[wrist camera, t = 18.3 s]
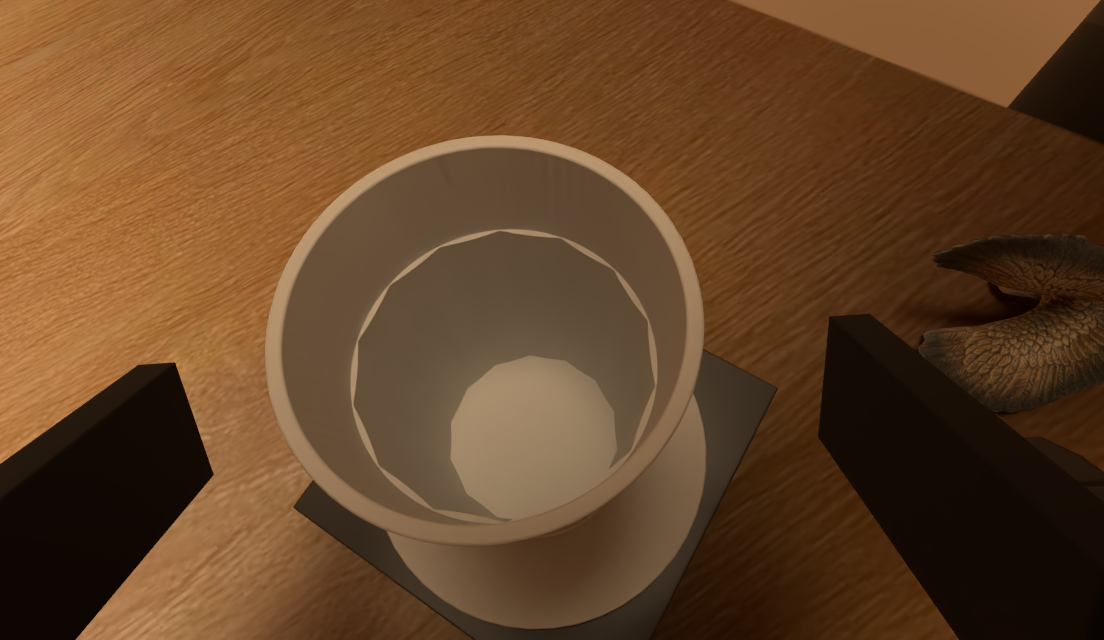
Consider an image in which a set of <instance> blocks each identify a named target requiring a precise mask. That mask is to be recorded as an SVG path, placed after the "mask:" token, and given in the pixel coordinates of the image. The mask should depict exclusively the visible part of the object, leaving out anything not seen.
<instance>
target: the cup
mask: <svg viewBox="0 0 1104 640" xmlns="http://www.w3.org/2000/svg"><path fill="white" fill-rule="evenodd" d="M703 345H704V309H703V301H702V295H701V290H700V285H699V281H698V277H697V273H696V270H695V267H694V264H693V262H692V259H691V257H690V254H689V252H688V250H687V248H686V245H685V243H684V241H683V239H682V238H681V236H680V234H679V233H678V231H677V229H676V227H675V226H674V224H673V223H672V222H671V220H670V219H669V217H668V216H667V215H666V213H665V212H664V211H663V210H662V208H661V207H660V206H659V205H658V204H657V203H656V201H655V200H654V199H653V198H652V197H651V196H650V195H649V194H648V193H647V192H646V191H645V190H644V189H642V188H641V187H640V186H639V185H638V184H637V183H635V182H634V181H633V180H632V179H631V178H629V177H628V176H626V175H625V174H624V173H622V172H621V171H619V170H618V169H616V168H614V167H613V166H611V165H610V164H608V163H606V162H604V161H602V160H600V159H598V158H597V157H594V156H592V155H590V154H588V153H585V152H583V151H580V150H578V149H575V148H572V147H569V146H566V145H563V144H559V143H556V142H551V141H547V140H542V139H536V138H530V137H521V136H501V135H494V136H478V137H468V138H461V139H456V140H451V141H446V142H442V143H438V144H434V145H431V146H428V147H425V148H422V149H419V150H416V151H413V152H411V153H408V154H406V155H403V156H401V157H399V158H397V159H395V160H393V161H391V162H389V163H387V164H385V165H383V166H381V167H379V168H378V169H376V170H374V171H373V172H371V173H369V174H368V175H366V176H365V177H363V178H362V179H361V180H359V181H358V182H356V183H355V184H354V185H352V186H351V187H350V188H348V189H347V190H346V191H345V192H344V193H342V194H341V195H340V196H339V197H338V198H337V199H336V200H335V201H333V202H332V203H331V204H330V205H329V206H328V207H327V208H326V209H325V211H324V212H323V213H322V214H321V215H320V216H319V217H318V218H317V219H316V221H315V222H314V223H313V224H312V225H311V227H310V228H309V229H308V231H307V232H306V233H305V235H304V236H303V238H302V239H301V241H300V242H299V244H298V245H297V247H296V248H295V250H294V252H293V253H292V255H291V257H290V259H289V261H288V263H287V265H286V267H285V269H284V271H283V273H282V275H281V278H280V280H279V283H278V285H277V288H276V291H275V294H274V297H273V301H272V304H271V308H270V313H269V317H268V323H267V330H266V339H265V369H266V380H267V386H268V392H269V396H270V400H271V404H272V408H273V411H274V414H275V417H276V420H277V422H278V425H279V427H280V429H281V432H282V434H283V436H284V438H285V440H286V442H287V444H288V446H289V447H290V449H291V451H292V452H293V454H294V455H295V457H296V459H297V460H298V462H299V463H300V464H301V466H302V467H303V468H304V470H305V471H306V472H307V473H308V474H309V476H310V477H311V478H312V479H313V480H314V481H315V482H316V484H317V485H318V486H320V487H321V488H322V489H323V490H324V491H325V492H326V493H327V494H328V495H329V496H330V497H331V498H333V499H334V500H335V501H336V502H338V503H339V504H340V505H341V506H343V507H344V508H346V509H347V510H349V511H350V512H352V513H353V514H355V515H356V516H358V517H360V518H362V519H363V520H365V521H367V522H369V523H371V524H373V525H375V526H377V527H379V528H382V529H384V530H386V531H389V532H392V533H394V534H397V535H400V536H403V537H407V538H410V539H414V540H418V541H422V542H427V543H433V544H440V545H449V546H491V545H500V544H507V543H513V542H518V541H523V540H527V539H531V538H545V537H552V536H556V535H560V534H563V533H566V532H569V531H571V530H573V529H575V528H577V527H579V526H581V525H583V524H584V523H586V522H587V521H588V520H590V519H591V518H592V517H594V516H595V515H596V514H597V513H598V512H599V511H600V510H601V509H602V508H603V507H604V505H606V504H607V503H609V502H610V501H611V500H613V499H614V498H615V497H617V496H618V495H619V494H621V493H622V492H623V491H624V490H626V489H627V488H628V487H629V486H630V485H631V484H632V483H633V482H635V481H636V480H637V479H638V478H639V477H640V476H641V475H642V474H643V473H644V472H645V471H646V470H647V468H648V467H649V466H650V465H651V464H652V463H653V462H654V460H655V459H656V458H657V457H658V455H659V454H660V453H661V452H662V450H663V449H664V447H665V446H666V445H667V443H668V442H669V440H670V439H671V437H672V436H673V434H674V432H675V431H676V429H677V427H678V425H679V423H680V422H681V420H682V418H683V416H684V414H685V412H686V409H687V407H688V405H689V402H690V400H691V397H692V394H693V392H694V389H695V385H696V382H697V378H698V374H699V370H700V366H701V360H702V353H703Z"/></svg>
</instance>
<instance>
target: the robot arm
mask: <svg viewBox="0 0 1104 640" xmlns="http://www.w3.org/2000/svg"><path fill="white" fill-rule="evenodd" d="M818 438H819V439H820V440H821V442H822V443H823V445H824V446H825V448H826V449H827V450H828V452H829V453H830V455H831V456H832V458H833V459H834V460H835V462H836V463H837V465H838V466H839V468H840V469H841V471H842V472H843V473H844V475H845V476H846V478H847V479H848V481H849V482H850V483H851V485H852V486H853V488H854V489H855V491H856V492H857V493H858V495H859V496H860V498H861V499H862V501H863V502H864V504H865V505H866V506H867V508H868V509H869V511H870V512H871V514H872V515H873V516H874V518H875V519H876V521H877V522H878V524H879V525H880V526H881V528H882V529H883V531H884V532H885V534H886V535H887V537H888V538H889V539H890V541H891V542H892V544H893V545H894V547H895V548H896V549H897V551H898V552H899V554H900V555H901V557H902V558H903V559H904V561H905V562H906V564H907V565H908V567H909V568H910V570H911V571H912V572H913V574H914V575H915V577H916V578H917V580H918V581H919V582H920V584H921V585H922V587H923V588H924V590H925V591H926V593H927V594H928V595H929V597H930V598H931V600H932V601H933V603H934V604H935V605H936V607H937V608H938V610H939V611H940V613H941V614H942V615H943V617H944V618H945V620H946V621H947V623H948V624H949V626H950V627H951V628H952V630H953V631H954V633H955V634H956V636H957V637H958V638H959V640H1104V472H1103V471H1101V470H1100V469H1099V468H1097V467H1096V466H1095V465H1093V464H1092V463H1091V462H1089V461H1088V460H1087V459H1085V458H1084V457H1083V456H1081V455H1079V454H1076V453H1074V452H1072V451H1070V450H1068V449H1066V448H1064V447H1062V446H1059V445H1057V444H1055V443H1053V442H1051V441H1049V440H1047V439H1044V438H1042V437H1027V438H1023V437H1022V436H1021V435H1020V434H1019V433H1017V432H1016V431H1015V430H1014V429H1012V428H1011V427H1010V426H1009V425H1007V424H1006V423H1005V422H1004V421H1002V420H1001V419H1000V418H999V417H997V416H996V415H995V414H994V413H992V412H991V411H990V410H989V409H987V408H986V407H985V406H984V405H982V404H981V403H980V402H979V401H977V400H976V399H975V398H974V397H972V396H971V395H970V394H969V393H967V392H966V391H965V390H964V389H962V388H961V387H960V386H959V385H957V384H956V383H955V382H954V381H952V380H951V379H950V378H949V377H948V376H946V375H945V374H944V373H943V372H941V371H940V370H939V369H938V368H936V367H935V366H934V365H933V364H931V363H930V362H929V361H928V360H926V359H925V358H924V357H923V356H921V355H920V354H919V353H918V352H916V351H915V350H914V349H913V348H911V347H910V346H909V345H908V344H906V343H905V342H904V341H903V340H901V339H900V338H899V337H898V336H896V335H895V334H894V333H893V332H891V331H890V330H889V329H888V328H886V327H885V326H884V325H883V324H881V323H880V322H879V321H878V320H877V319H875V318H874V317H873V316H872V315H870V314H859V315H845V316H831V317H829V327H828V338H827V348H826V359H825V369H824V380H823V390H822V401H821V411H820V422H819V432H818ZM213 475H214V474H213V471H212V469H211V466H210V463H209V460H208V457H207V454H206V451H205V448H204V445H203V442H202V440H201V437H200V434H199V431H198V428H197V425H196V422H195V419H194V416H193V413H192V411H191V408H190V405H189V402H188V399H187V396H186V393H185V390H184V387H183V384H182V382H181V379H180V376H179V373H178V370H177V367H176V364H175V363H161V364H146V365H138V366H136V367H135V368H134V369H132V370H131V371H129V372H128V373H127V374H125V375H124V376H122V377H121V378H120V379H118V380H117V381H115V382H114V383H113V384H111V385H110V386H108V387H107V388H106V389H104V390H103V391H101V392H100V393H99V394H97V395H96V396H95V397H93V398H92V399H90V400H89V401H88V402H86V403H85V404H83V405H82V406H81V407H79V408H78V409H76V410H75V411H74V412H72V413H71V414H69V415H68V416H67V417H65V418H64V419H62V420H61V421H60V422H58V423H57V424H55V425H54V426H53V427H51V428H50V429H49V430H47V431H46V432H44V433H43V434H42V435H40V436H39V437H37V438H36V439H35V440H33V441H32V442H30V443H29V444H28V445H26V446H25V447H23V448H22V449H21V450H19V451H18V452H16V453H15V454H14V455H12V456H11V457H9V458H8V459H7V460H5V461H4V462H3V463H1V464H0V640H76V638H77V637H78V636H79V635H80V634H81V632H82V631H83V630H84V629H85V628H86V626H87V625H88V624H89V623H90V622H91V621H92V619H93V618H94V617H95V616H96V615H97V613H98V612H99V611H100V610H101V609H102V607H103V606H104V605H105V604H106V603H107V601H108V600H109V599H110V598H111V597H112V595H113V594H114V593H115V592H116V591H117V590H118V588H119V587H120V586H121V585H122V584H123V582H124V581H125V580H126V579H127V578H128V576H129V575H130V574H131V573H132V572H133V570H134V569H135V568H136V567H137V566H138V564H139V563H140V562H141V561H142V560H143V558H144V557H145V556H146V555H147V554H148V553H149V551H150V550H151V549H152V548H153V547H154V545H155V544H156V543H157V542H158V541H159V539H160V538H161V537H162V536H163V535H164V533H165V532H166V531H167V530H168V529H169V527H170V526H171V525H172V524H173V523H174V522H175V520H176V519H177V518H178V517H179V516H180V514H181V513H182V512H183V511H184V510H185V508H186V507H187V506H188V505H189V504H190V502H191V501H192V500H193V499H194V498H195V496H196V495H197V494H198V493H199V492H200V490H201V489H202V488H203V487H204V486H205V485H206V483H207V482H208V481H209V480H210V479H211V477H212V476H213Z"/></svg>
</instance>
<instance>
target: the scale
mask: <svg viewBox="0 0 1104 640" xmlns="http://www.w3.org/2000/svg"><path fill="white" fill-rule="evenodd" d="M776 391H777V388H776V387H774V386H772V385H771V384H769V383H767V382H765V381H763V380H761V379H759V378H757V377H755V376H754V375H752V374H750V373H748V372H746V371H744V370H742V369H740V368H738V367H736V366H735V365H733V364H731V363H729V362H727V361H725V360H723V359H721V358H719V357H717V356H716V355H714V354H712V353H710V352H708V351H706V350H704V349H703V353H702V360H701V366H700V370H699V374H698V378H697V382H696V385H695V389H694V392H693V394H692V397H691V400H690V402H689V405H688V407H687V409H686V412H685V414H684V416H683V418H682V420H681V422H680V423H679V425H678V427H677V429H676V431H675V432H674V434H673V436H672V437H671V439H670V440H669V442H668V443H667V445H666V446H665V447H664V449H663V450H662V452H661V453H660V454H659V455H658V457H657V458H656V459H655V460H654V462H653V463H652V464H651V465H650V466H649V467H648V468H647V470H646V471H645V472H644V473H643V474H642V475H641V476H640V477H639V478H638V479H637V480H636V481H635V482H633V483H632V484H631V485H630V486H629V487H628V488H627V489H626V490H624V491H623V492H622V493H621V494H619V495H618V496H617V497H615V498H614V499H613V500H611V501H610V502H609V503H607V504H606V505H604V507H603V508H602V509H601V510H600V511H599V512H598V513H597V514H596V515H595V516H594V517H592V518H591V519H590V520H588V521H587V522H586V523H584V524H583V525H581V526H579V527H577V528H575V529H573V530H571V531H569V532H566V533H563V534H560V535H556V536H552V537H545V538H531V539H527V540H523V541H518V542H513V543H507V544H500V545H491V546H449V545H440V544H433V543H427V542H422V541H418V540H414V539H410V538H407V537H403V536H400V535H397V534H394V533H392V532H389V531H386V530H384V529H382V528H379V527H377V526H375V525H373V524H371V523H369V522H367V521H365V520H363V519H362V518H360V517H358V516H356V515H355V514H353V513H352V512H350V511H349V510H347V509H346V508H344V507H343V506H341V505H340V504H339V503H338V502H336V501H335V500H334V499H333V498H331V497H330V496H329V495H328V494H327V493H326V492H325V491H324V490H323V489H322V488H321V487H320V486H318V485H317V484H316V482H315V481H314V480H313V481H312V482H311V484H310V485H309V486H308V488H307V489H306V490H305V492H304V493H303V494H302V496H301V497H300V498H299V500H298V501H297V503H296V504H295V505H294V509H296V510H297V511H298V512H300V513H301V514H303V515H304V516H305V517H307V518H308V519H309V520H311V521H312V522H313V523H315V524H316V525H318V526H319V527H320V528H322V529H323V530H324V531H326V532H327V533H329V534H330V535H331V536H333V537H334V538H335V539H337V540H338V541H339V542H341V543H342V544H344V545H345V546H346V547H348V548H349V549H350V550H352V551H353V552H354V553H356V554H357V555H359V556H360V557H361V558H363V559H364V560H365V561H367V562H368V563H370V564H371V565H372V566H374V567H375V568H376V569H378V570H379V571H380V572H382V573H383V574H385V575H386V576H387V577H389V578H390V579H391V580H393V581H394V582H396V583H397V584H398V585H400V586H401V587H402V588H404V589H405V590H406V591H408V592H409V593H411V594H412V595H413V596H415V597H416V598H417V599H419V600H420V601H422V602H423V603H424V604H426V605H427V606H428V607H430V608H431V609H432V610H434V611H435V612H437V613H438V614H439V615H441V616H442V617H443V618H445V619H446V620H447V621H449V622H450V623H452V624H453V625H454V626H456V627H457V628H458V629H460V630H461V631H463V632H464V633H465V634H467V635H468V636H469V637H471V638H472V639H473V640H651V638H652V636H653V634H654V632H655V630H656V628H657V626H658V624H659V622H660V620H661V618H662V616H663V614H664V612H665V610H666V608H667V606H668V604H669V602H670V600H671V598H672V596H673V595H674V593H675V591H676V589H677V587H678V585H679V583H680V581H681V579H682V577H683V575H684V573H685V571H686V569H687V567H688V565H689V563H690V561H691V559H692V557H693V555H694V553H695V551H696V549H697V547H698V545H699V543H700V541H701V539H702V537H703V535H704V533H705V531H706V529H707V527H708V525H709V523H710V521H711V519H712V517H713V516H714V514H715V512H716V510H717V508H718V506H719V504H720V502H721V500H722V498H723V496H724V494H725V492H726V490H727V488H728V486H729V484H730V482H731V480H732V478H733V476H734V474H735V472H736V470H737V468H738V466H739V464H740V462H741V460H742V458H743V456H744V454H745V452H746V450H747V448H748V446H749V444H750V442H751V440H752V438H753V437H754V435H755V433H756V431H757V429H758V427H759V425H760V423H761V421H762V419H763V417H764V415H765V413H766V411H767V409H768V407H769V405H770V403H771V401H772V399H773V397H774V395H775V393H776Z"/></svg>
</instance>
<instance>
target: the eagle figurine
mask: <svg viewBox="0 0 1104 640" xmlns="http://www.w3.org/2000/svg"><path fill="white" fill-rule="evenodd" d="M933 256H934V257H935V258H934V259H933V261H934V262H936V263H938V264H937V267H943V268H947V269H954V270H958V271H962V272H965V273H968V274H972V275H976V276H978V277H980V278H982V279H984V280H987V281H989V282H991V283H992V284H994V285H996V286H998V288H999V289H1000V291H1001V292H1003V293H1005V294H1008V295H1015V296H1021V297H1030V298H1034V299H1036V300H1038V301H1040V303H1039V304H1038V305H1037V306H1036V307H1035V308H1034V309H1032V310H1030V311H1028V312H1026V313H1024V314H1022V315H1020V316H1016V317H1012V318H1009V319H1005V320H1000V321H996V322H992V323H988V324H985V325H980V326H967V327H953V328H939V329H935V330H928V331H926V332H924V334H923V338H924V340H925V341H924V342H923V343H922V344H921V345H920V346H919V347H918V351H919V353H920V354H921V355H922V356H923V357H924V358H925V359H926V360H928V361H929V362H930V363H931V364H933V365H934V366H935V367H936V368H938V369H939V370H940V371H941V372H943V373H944V374H945V375H946V376H948V377H949V378H950V379H951V380H952V381H954V382H955V383H956V384H957V385H959V386H960V387H961V388H962V389H964V390H965V391H966V392H967V393H969V394H970V395H971V396H972V397H974V398H975V399H976V400H977V401H979V402H980V403H981V404H982V405H984V406H985V407H986V408H987V409H989V410H990V411H992V412H1001V411H1006V412H1009V413H1012V412H1016V411H1019V410H1031V409H1033V408H1034V407H1036V406H1037V405H1039V404H1046V403H1048V402H1053V401H1055V400H1057V399H1058V398H1059V397H1060V396H1061V395H1064V396H1066V395H1069V394H1071V393H1073V392H1078V391H1080V390H1082V389H1083V388H1084V387H1085V386H1087V387H1093V386H1094V385H1098V384H1101V383H1102V382H1103V381H1104V247H1103V246H1102V245H1094V244H1092V243H1091V241H1090V240H1089V239H1088V238H1087V237H1085V236H1083V235H1077V236H1074V235H1072V234H1070V233H1065V234H1062V235H1061V236H1059V237H1058V236H1056V235H1055V234H1053V233H1051V234H1047V235H1040V234H1029V235H1018V234H1015V235H994V236H992V237H989V238H983V239H976V240H973V241H971V242H969V243H966V244H958V245H955V246H953V247H952V248H951V249H947V250H944V251H937V252H935V253H934V254H933Z"/></svg>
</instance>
